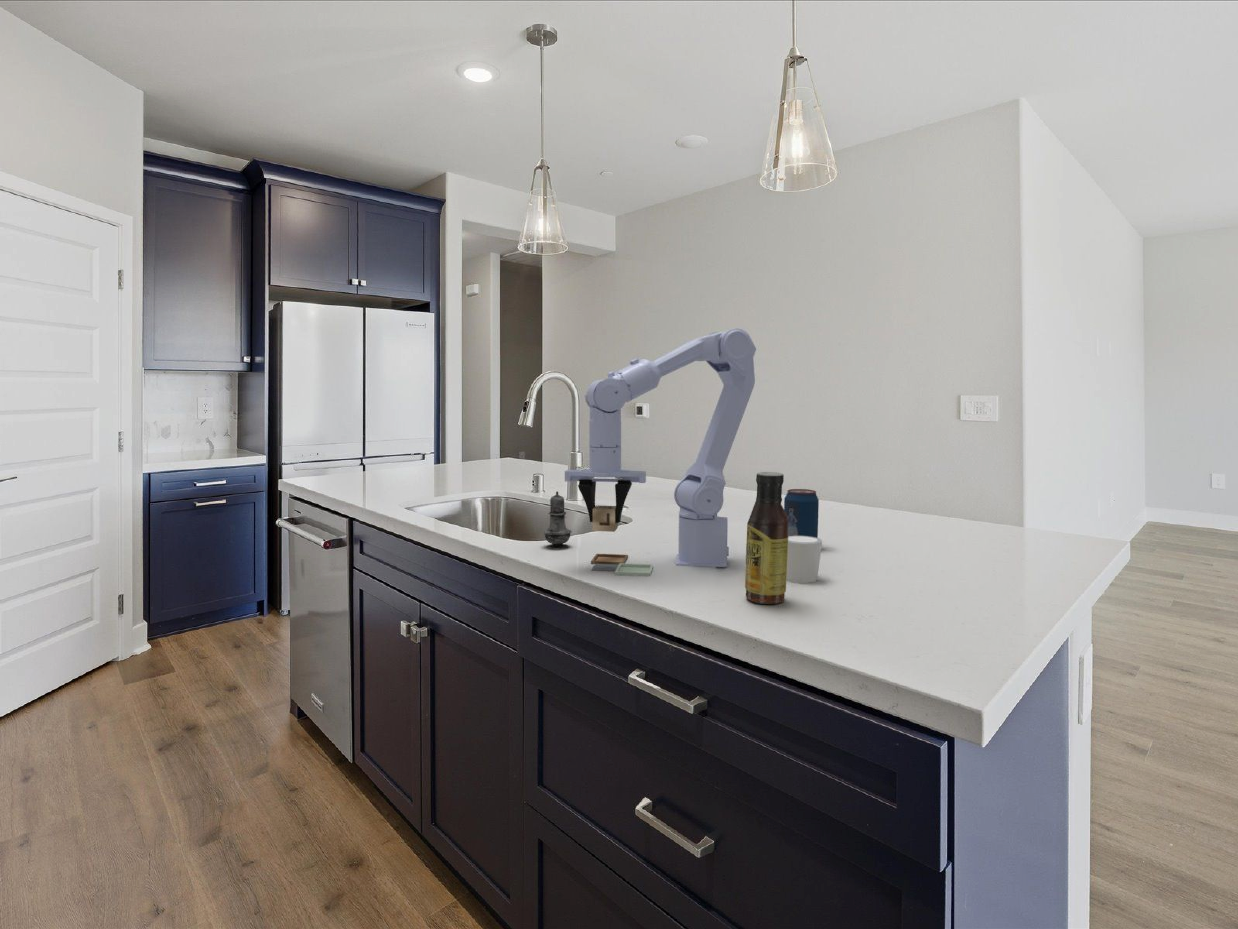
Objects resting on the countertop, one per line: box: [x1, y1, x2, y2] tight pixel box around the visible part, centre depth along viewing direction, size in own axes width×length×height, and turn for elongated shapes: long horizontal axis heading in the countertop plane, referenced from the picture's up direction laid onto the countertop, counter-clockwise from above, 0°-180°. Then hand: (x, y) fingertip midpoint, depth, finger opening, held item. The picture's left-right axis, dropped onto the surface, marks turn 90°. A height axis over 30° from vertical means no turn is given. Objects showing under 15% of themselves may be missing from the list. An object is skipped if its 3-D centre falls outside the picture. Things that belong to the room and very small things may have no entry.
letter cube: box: [592, 504, 619, 532], centre depth 123 cm, size 4×4×4 cm
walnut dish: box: [590, 553, 629, 565], centre depth 130 cm, size 6×6×1 cm
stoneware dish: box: [614, 563, 654, 577], centre depth 122 cm, size 6×6×1 cm
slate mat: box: [591, 564, 618, 572], centre depth 124 cm, size 4×4×1 cm
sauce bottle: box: [744, 471, 788, 605], centre depth 104 cm, size 7×6×20 cm
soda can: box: [783, 488, 820, 538], centre depth 142 cm, size 7×7×12 cm
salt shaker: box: [542, 491, 572, 550], centre depth 141 cm, size 6×6×12 cm
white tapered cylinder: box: [786, 536, 823, 584], centre depth 118 cm, size 7×7×7 cm
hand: (605, 521), depth 123 cm, fingers closed on letter cube, 4 cm apart
